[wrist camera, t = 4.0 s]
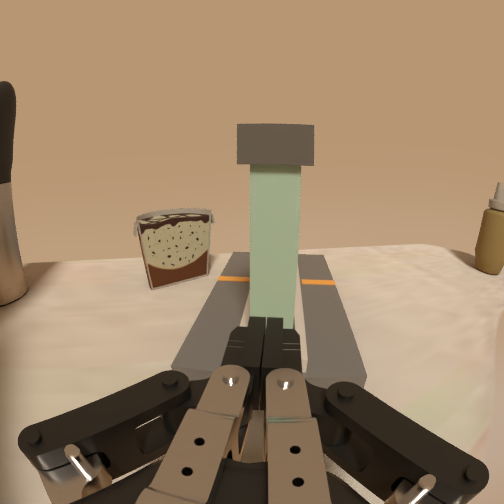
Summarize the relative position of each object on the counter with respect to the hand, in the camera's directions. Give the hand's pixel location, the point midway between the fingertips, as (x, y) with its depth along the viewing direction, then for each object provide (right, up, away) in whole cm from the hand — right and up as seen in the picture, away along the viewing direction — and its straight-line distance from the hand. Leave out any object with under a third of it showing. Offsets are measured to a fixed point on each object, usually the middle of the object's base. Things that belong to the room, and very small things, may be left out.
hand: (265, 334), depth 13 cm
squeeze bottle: (+48, 0, +32) cm, 57 cm away
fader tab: (+1, -3, +10) cm, 10 cm away
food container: (-13, 0, +31) cm, 34 cm away
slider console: (+2, -4, +20) cm, 21 cm away
